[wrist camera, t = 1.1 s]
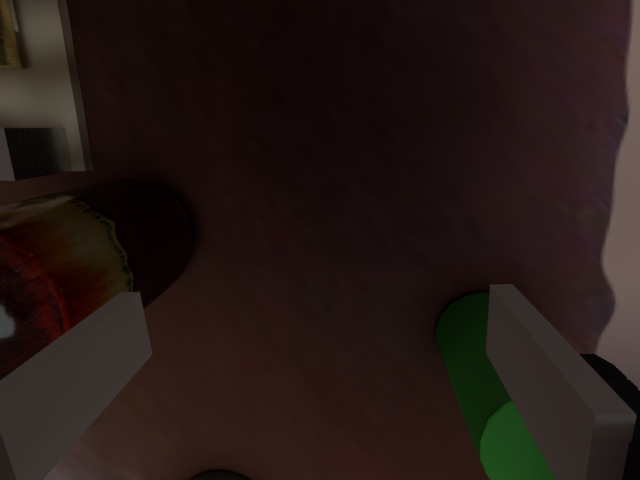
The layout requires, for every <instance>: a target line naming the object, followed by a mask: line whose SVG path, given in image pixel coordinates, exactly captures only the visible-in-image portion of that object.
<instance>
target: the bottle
mask: <svg viewBox="0 0 640 480" xmlns="http://www.w3.org/2000/svg"><path fill="white" fill-rule="evenodd" d="M488 310H489V293H483V292H481V293H476V294H471V295H466V296H464V297H462V298H460V299H459V300H457V301H455V302H453V303H452V304H450V306H449V307H448V308H447V309H446V310H445V311H444V312H443V313H442V314H441V316H440V319H439V322H438V324H437V327H436V343H437V346H438V349H439V351H440V354H441V357H442V359H443V362H444V365H445V368H446V370H447V373H448V376H449V379H450V381H451V384H452V387H453V389H454V392H455V395H456V397H457V400H458V403H459V405H460V408H461V411H462V413H463V416H464V419H465V421H466V424H467V427H468V429H469V432H470V435H471V438H472V440H473V443H474V446H475V448H476V451H477V454H478V456H479V459H480V461H481V463H482V465H483V468H484V470H485V472H486V474H487V476H488V477H489V478H490V479H491V480H556V479H555V477H554V475H553V473H552V471H551V470H550V468H549V466H548V464H547V462H546V461H545V459H544V457H543V455H542V453H541V452H540V450H539V448H538V446H537V444H536V443H535V441H534V439H533V437H532V435H531V433H530V432H529V430H528V428H527V426H526V424H525V423H524V421H523V419H522V417H521V415H520V414H519V412H518V410H517V408H516V406H515V405H514V403H513V401H512V399H511V397H510V396H509V394H508V392H507V390H506V388H505V387H504V385H503V383H502V381H501V379H500V378H499V376H498V374H497V372H496V370H495V369H494V367H493V365H492V363H491V361H490V360H489V358H488V356H487V354H486V342H487V326H488Z"/></svg>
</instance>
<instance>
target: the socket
mask: <svg viewBox="0 0 640 480" xmlns="http://www.w3.org/2000/svg"><path fill="white" fill-rule="evenodd" d="M71 171H73V169H72V163H71V158H70V152H69V146H68V141H67V135H66V129H65V128H0V181H15V180H22V179H28V178H34V177H40V176H46V175H53V174H59V173H65V172H71Z"/></svg>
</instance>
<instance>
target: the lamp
mask: <svg viewBox="0 0 640 480" xmlns="http://www.w3.org/2000/svg"><path fill="white" fill-rule="evenodd" d="M192 480H248V479H246V478H244V477H243V476H240V475H237V474H234V473H232V472H225V471H212V472H206V473H204V474H201V475H198V476H196V477H195V478H193V479H192Z"/></svg>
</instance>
